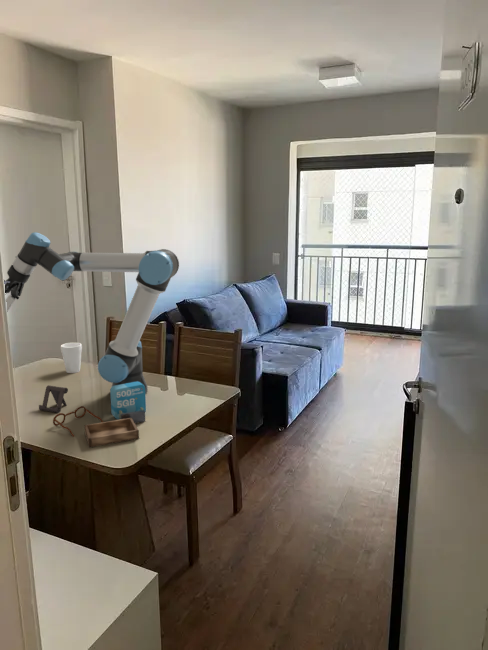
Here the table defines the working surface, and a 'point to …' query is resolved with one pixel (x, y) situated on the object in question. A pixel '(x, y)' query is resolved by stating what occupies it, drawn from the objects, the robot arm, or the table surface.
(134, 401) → the data package
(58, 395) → the portable electronic device stand
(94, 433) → the tray
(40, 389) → the table surface
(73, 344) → the foam cup
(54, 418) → the glasses
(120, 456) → the table surface
